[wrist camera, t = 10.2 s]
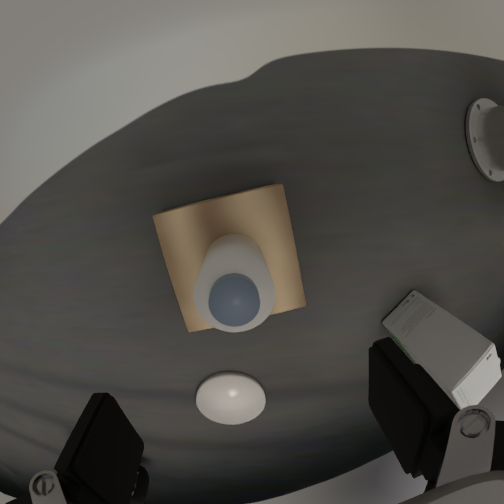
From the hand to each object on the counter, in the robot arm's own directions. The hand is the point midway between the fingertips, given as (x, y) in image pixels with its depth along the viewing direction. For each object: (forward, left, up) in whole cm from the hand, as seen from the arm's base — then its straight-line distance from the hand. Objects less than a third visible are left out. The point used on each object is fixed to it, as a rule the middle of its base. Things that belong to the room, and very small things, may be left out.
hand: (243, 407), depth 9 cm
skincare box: (-21, +15, -23) cm, 34 cm away
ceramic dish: (+5, +19, -22) cm, 30 cm away
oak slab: (0, 0, -22) cm, 22 cm away
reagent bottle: (0, 0, -18) cm, 18 cm away
